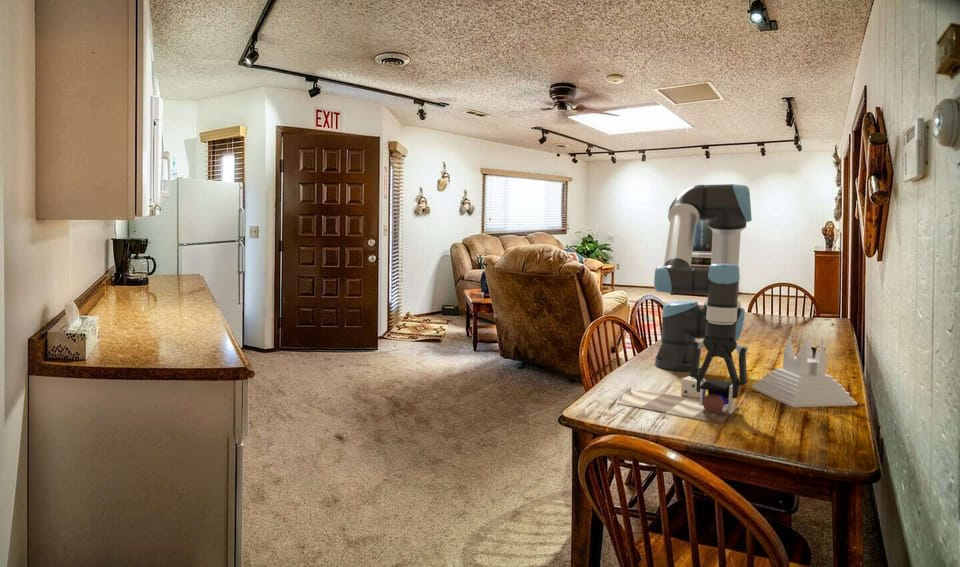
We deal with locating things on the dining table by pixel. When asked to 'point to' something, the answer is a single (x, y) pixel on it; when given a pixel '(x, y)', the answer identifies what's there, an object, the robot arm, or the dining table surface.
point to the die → (689, 387)
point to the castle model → (804, 380)
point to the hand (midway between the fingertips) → (716, 406)
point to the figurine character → (716, 395)
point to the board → (674, 406)
